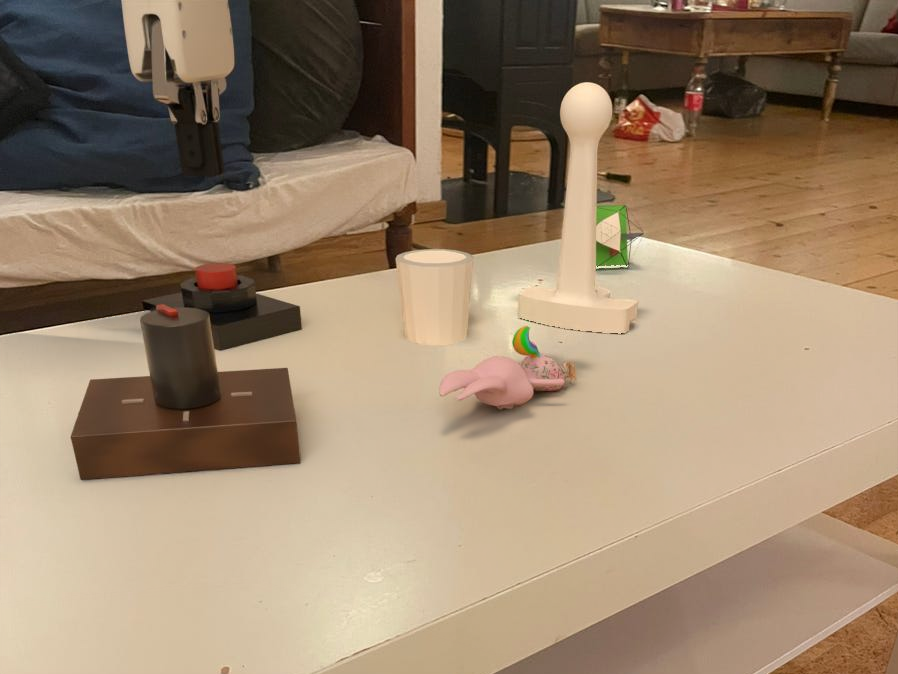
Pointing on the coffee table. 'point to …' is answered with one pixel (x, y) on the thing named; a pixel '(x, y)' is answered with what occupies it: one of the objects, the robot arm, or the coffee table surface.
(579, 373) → the coffee table surface
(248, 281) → the button box
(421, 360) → the coffee table surface
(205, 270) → the button
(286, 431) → the panel
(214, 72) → the robot arm
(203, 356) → the dial
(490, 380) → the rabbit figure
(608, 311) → the joystick
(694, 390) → the coffee table surface
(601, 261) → the geometric puzzle
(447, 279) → the shot glass
